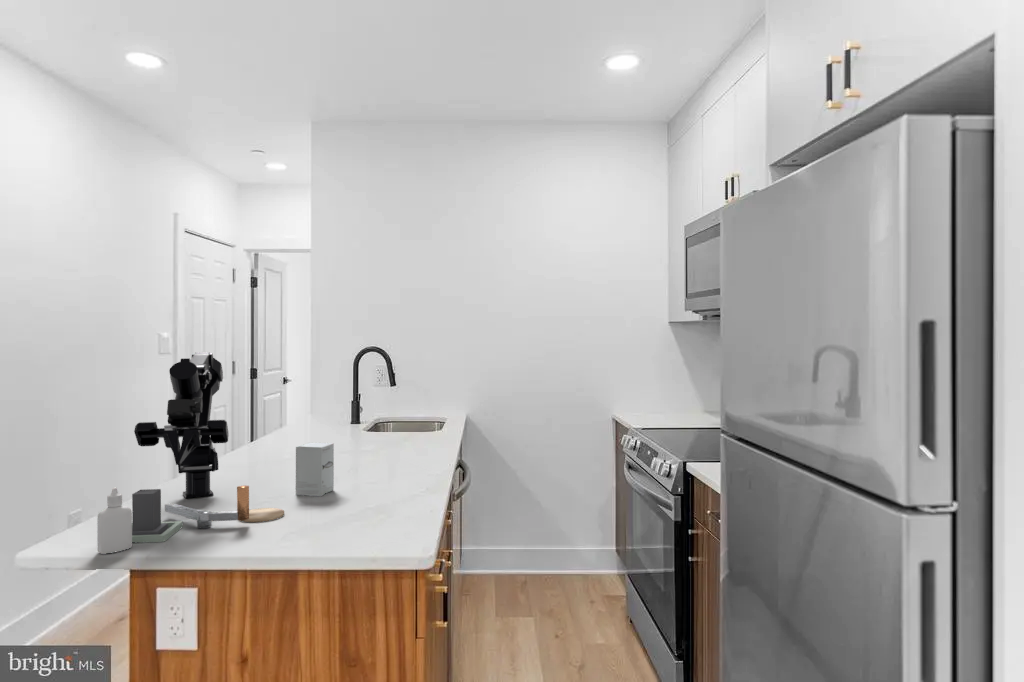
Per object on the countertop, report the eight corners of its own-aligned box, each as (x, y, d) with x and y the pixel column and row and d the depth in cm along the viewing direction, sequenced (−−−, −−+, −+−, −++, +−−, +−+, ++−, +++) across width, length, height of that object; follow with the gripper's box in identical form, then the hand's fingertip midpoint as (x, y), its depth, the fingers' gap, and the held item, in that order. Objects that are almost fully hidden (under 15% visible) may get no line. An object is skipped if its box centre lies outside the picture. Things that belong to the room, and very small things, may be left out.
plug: (137, 531, 141) (137, 488, 141) (167, 530, 142) (167, 487, 142) (125, 540, 135) (124, 495, 135) (156, 538, 136) (156, 494, 136)
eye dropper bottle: (100, 549, 130) (99, 486, 129) (133, 545, 132) (133, 484, 132) (95, 555, 126) (95, 491, 125) (130, 552, 128) (129, 489, 128)
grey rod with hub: (251, 524, 145) (251, 486, 145) (218, 533, 139) (218, 493, 139) (194, 510, 157) (194, 475, 157) (162, 518, 151) (162, 481, 151)
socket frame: (130, 528, 143) (130, 523, 143) (182, 526, 145) (182, 521, 145) (108, 543, 133) (108, 537, 133) (164, 541, 134) (164, 535, 134)
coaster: (233, 514, 154) (233, 511, 154) (278, 508, 160) (278, 505, 160) (242, 524, 146) (242, 522, 146) (289, 518, 151) (289, 515, 151)
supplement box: (321, 496, 171) (321, 447, 171) (294, 495, 173) (294, 446, 172) (334, 490, 178) (334, 442, 178) (309, 489, 180) (308, 441, 180)
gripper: (136, 386, 150) (122, 443, 139) (226, 384, 155) (220, 439, 144) (145, 417, 157) (132, 474, 147) (231, 414, 162) (225, 469, 152)
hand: (177, 463), depth 147 cm, fingers closed
